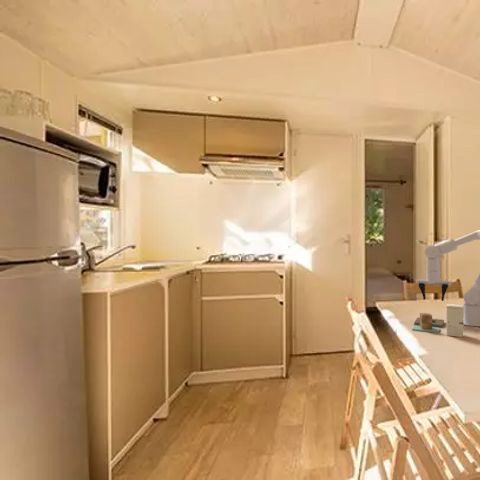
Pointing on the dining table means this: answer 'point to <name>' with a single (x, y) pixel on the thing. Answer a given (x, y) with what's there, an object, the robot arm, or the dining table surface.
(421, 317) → the brown block
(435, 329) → the mat
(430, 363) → the dining table surface
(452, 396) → the dining table surface
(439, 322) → the socket plate
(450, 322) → the skincare box
